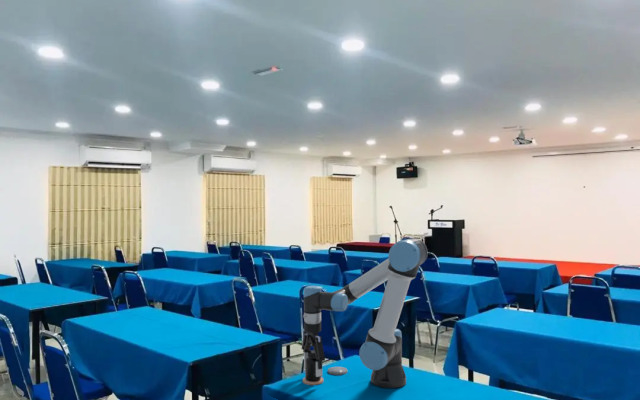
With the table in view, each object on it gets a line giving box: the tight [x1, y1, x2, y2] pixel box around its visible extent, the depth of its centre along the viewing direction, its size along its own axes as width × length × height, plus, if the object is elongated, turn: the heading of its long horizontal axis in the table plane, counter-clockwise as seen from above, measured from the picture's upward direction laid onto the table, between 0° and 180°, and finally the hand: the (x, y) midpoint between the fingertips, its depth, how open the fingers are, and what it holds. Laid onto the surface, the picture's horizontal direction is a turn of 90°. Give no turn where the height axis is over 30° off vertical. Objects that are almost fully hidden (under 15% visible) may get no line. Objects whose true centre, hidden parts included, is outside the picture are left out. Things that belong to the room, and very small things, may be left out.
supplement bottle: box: [304, 349, 322, 382], centre depth 212 cm, size 7×7×12 cm
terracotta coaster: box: [302, 376, 324, 386], centre depth 212 cm, size 9×9×1 cm
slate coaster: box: [327, 366, 348, 376], centre depth 224 cm, size 9×9×1 cm
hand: (313, 371), depth 212 cm, fingers open, 12 cm apart
